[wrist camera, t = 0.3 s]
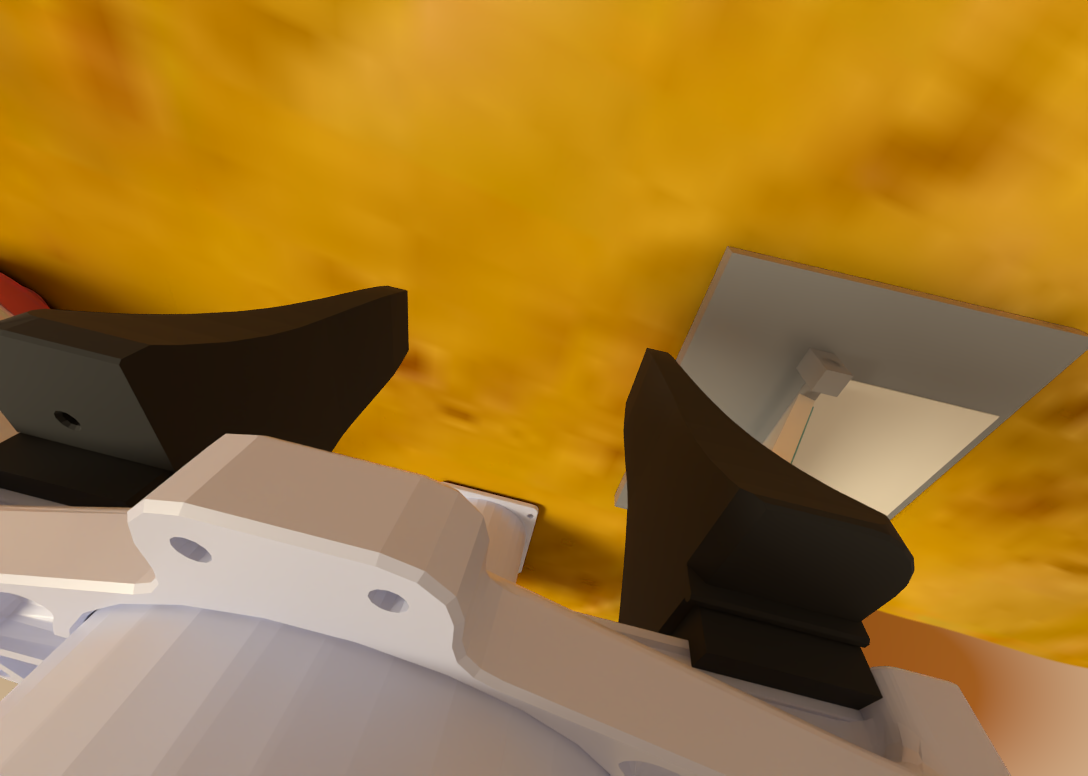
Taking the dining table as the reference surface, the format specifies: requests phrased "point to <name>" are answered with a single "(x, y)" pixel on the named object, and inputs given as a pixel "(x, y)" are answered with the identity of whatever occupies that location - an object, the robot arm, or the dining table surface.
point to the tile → (791, 429)
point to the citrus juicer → (8, 300)
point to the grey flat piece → (864, 371)
